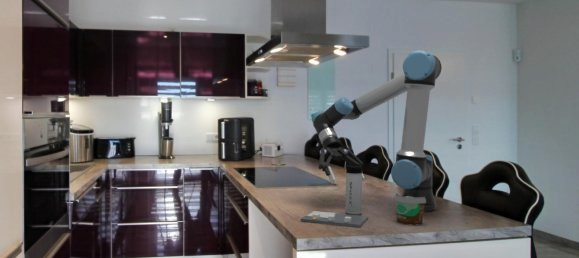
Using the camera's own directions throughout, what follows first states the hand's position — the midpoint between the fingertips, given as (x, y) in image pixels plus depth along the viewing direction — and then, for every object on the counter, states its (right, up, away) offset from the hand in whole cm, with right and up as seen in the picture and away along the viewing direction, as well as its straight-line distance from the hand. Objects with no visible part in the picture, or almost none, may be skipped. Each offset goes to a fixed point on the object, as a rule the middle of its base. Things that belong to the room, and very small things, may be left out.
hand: (348, 180), depth 173 cm
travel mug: (+2, -13, -2) cm, 14 cm away
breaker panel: (-7, -13, -12) cm, 19 cm away
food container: (+19, -14, -15) cm, 28 cm away
